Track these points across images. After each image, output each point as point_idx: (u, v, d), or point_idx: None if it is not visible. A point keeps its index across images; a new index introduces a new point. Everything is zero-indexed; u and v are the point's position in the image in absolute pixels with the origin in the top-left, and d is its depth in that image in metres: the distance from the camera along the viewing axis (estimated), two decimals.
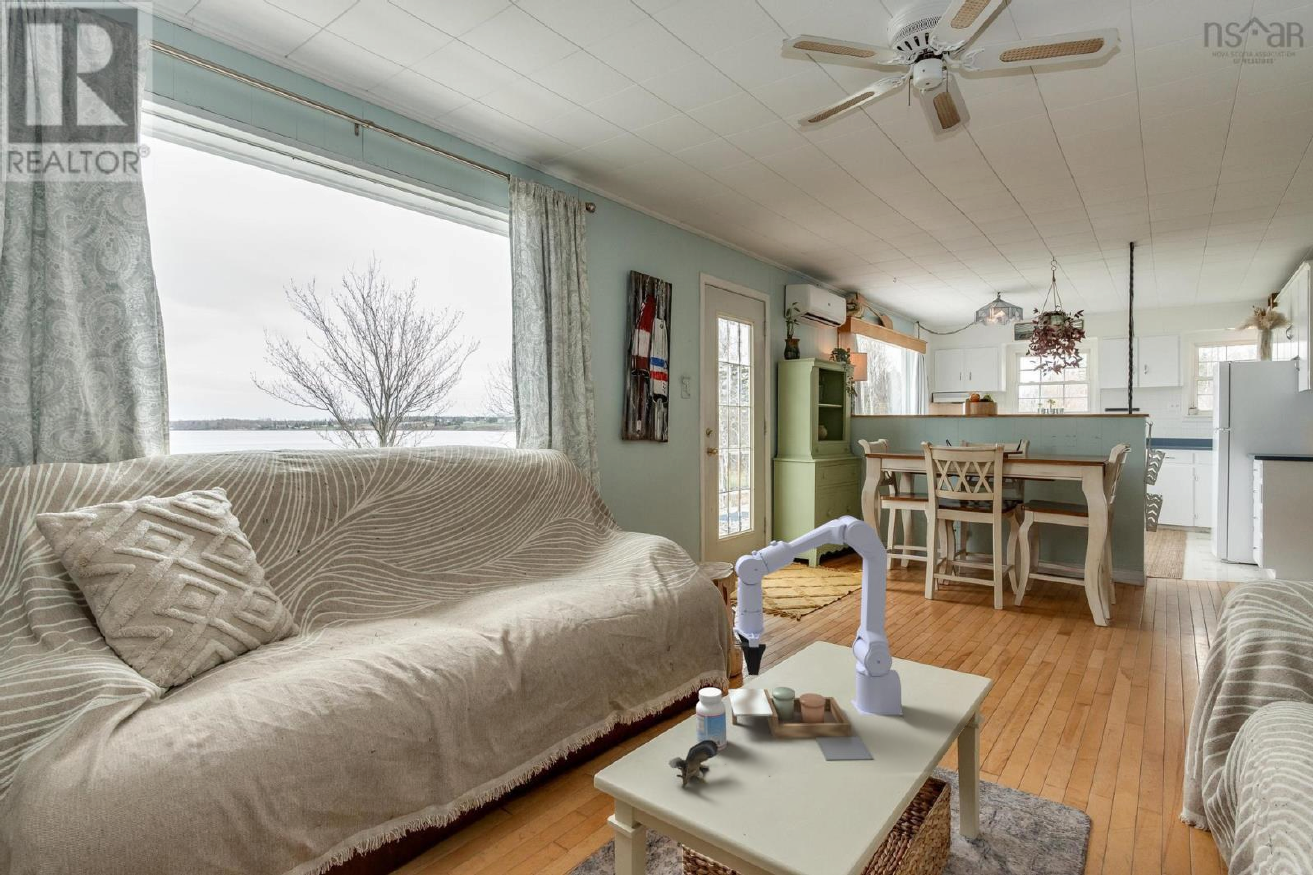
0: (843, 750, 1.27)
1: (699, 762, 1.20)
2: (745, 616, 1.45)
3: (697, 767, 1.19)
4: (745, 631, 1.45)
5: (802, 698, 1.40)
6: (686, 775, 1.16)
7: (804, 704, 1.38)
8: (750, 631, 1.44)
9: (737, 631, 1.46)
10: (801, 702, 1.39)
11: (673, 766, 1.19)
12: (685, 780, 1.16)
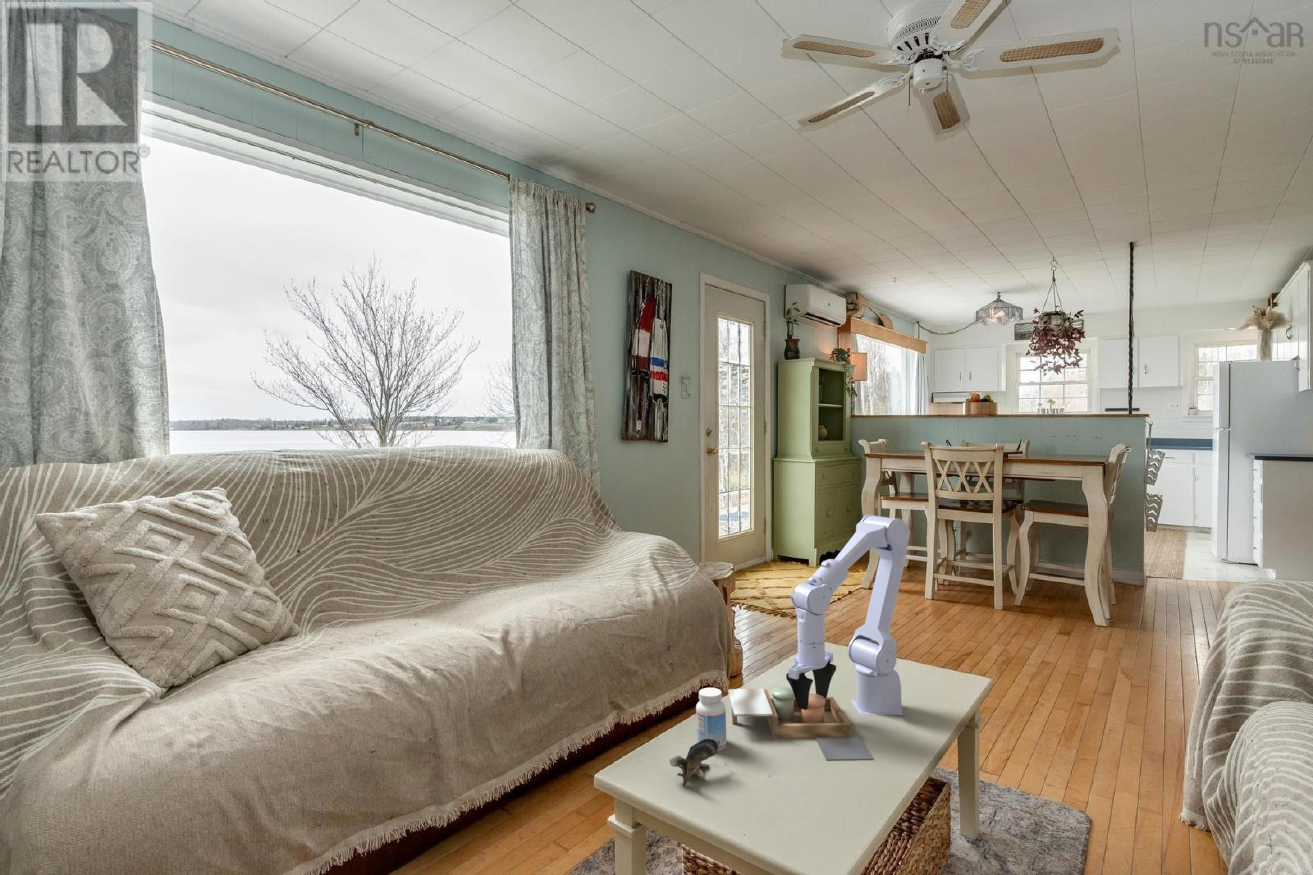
0: (843, 750, 1.27)
1: (699, 761, 1.20)
2: (799, 646, 1.38)
3: (697, 766, 1.19)
4: (799, 661, 1.39)
5: None
6: (686, 774, 1.17)
7: None
8: (802, 662, 1.38)
9: (796, 659, 1.41)
10: None
11: (673, 765, 1.19)
12: (685, 779, 1.17)
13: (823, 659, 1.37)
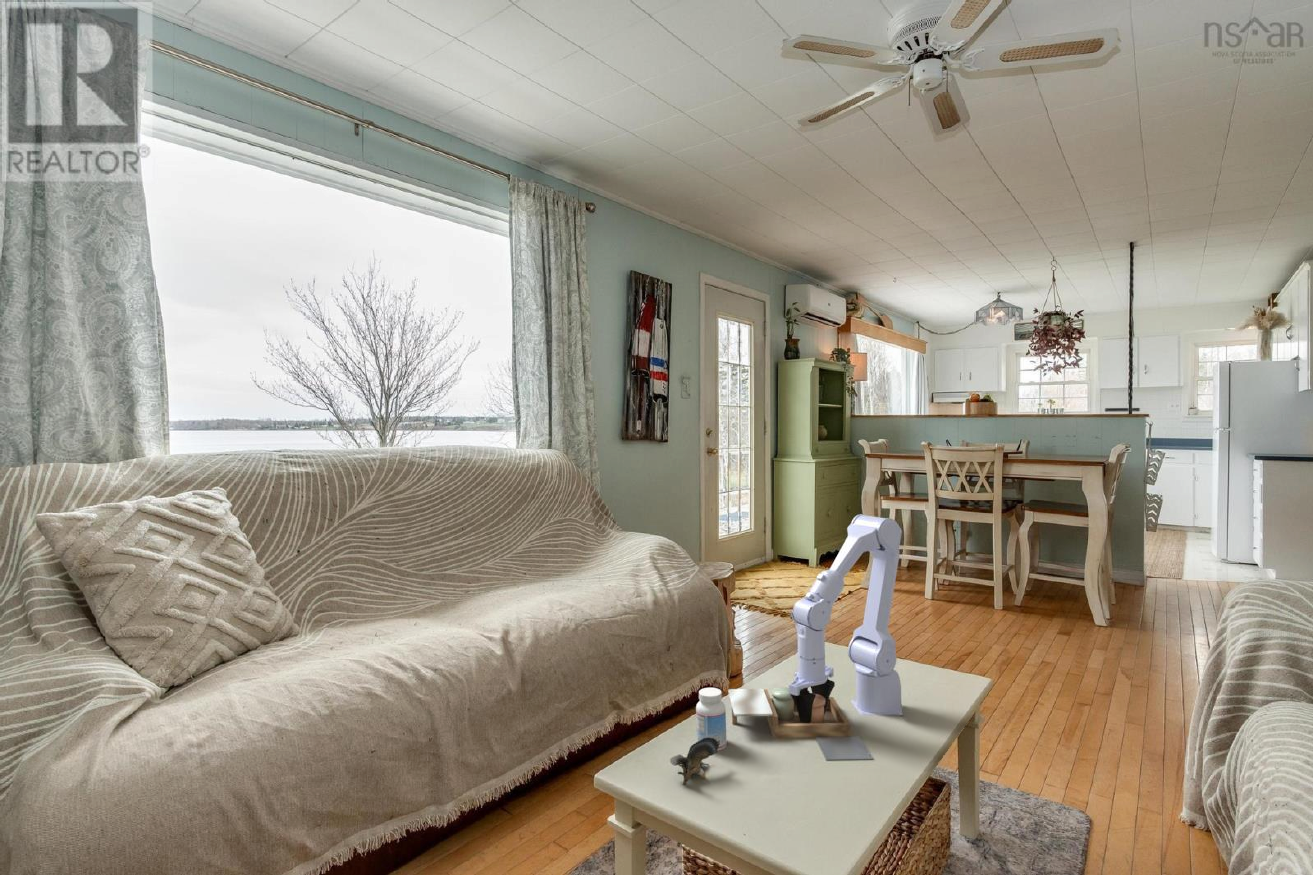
0: (843, 750, 1.27)
1: (700, 759, 1.21)
2: (799, 661, 1.39)
3: (698, 764, 1.20)
4: (799, 677, 1.39)
5: None
6: (687, 772, 1.17)
7: None
8: (803, 678, 1.38)
9: (796, 675, 1.41)
10: None
11: (674, 763, 1.20)
12: (686, 777, 1.17)
13: (823, 675, 1.38)
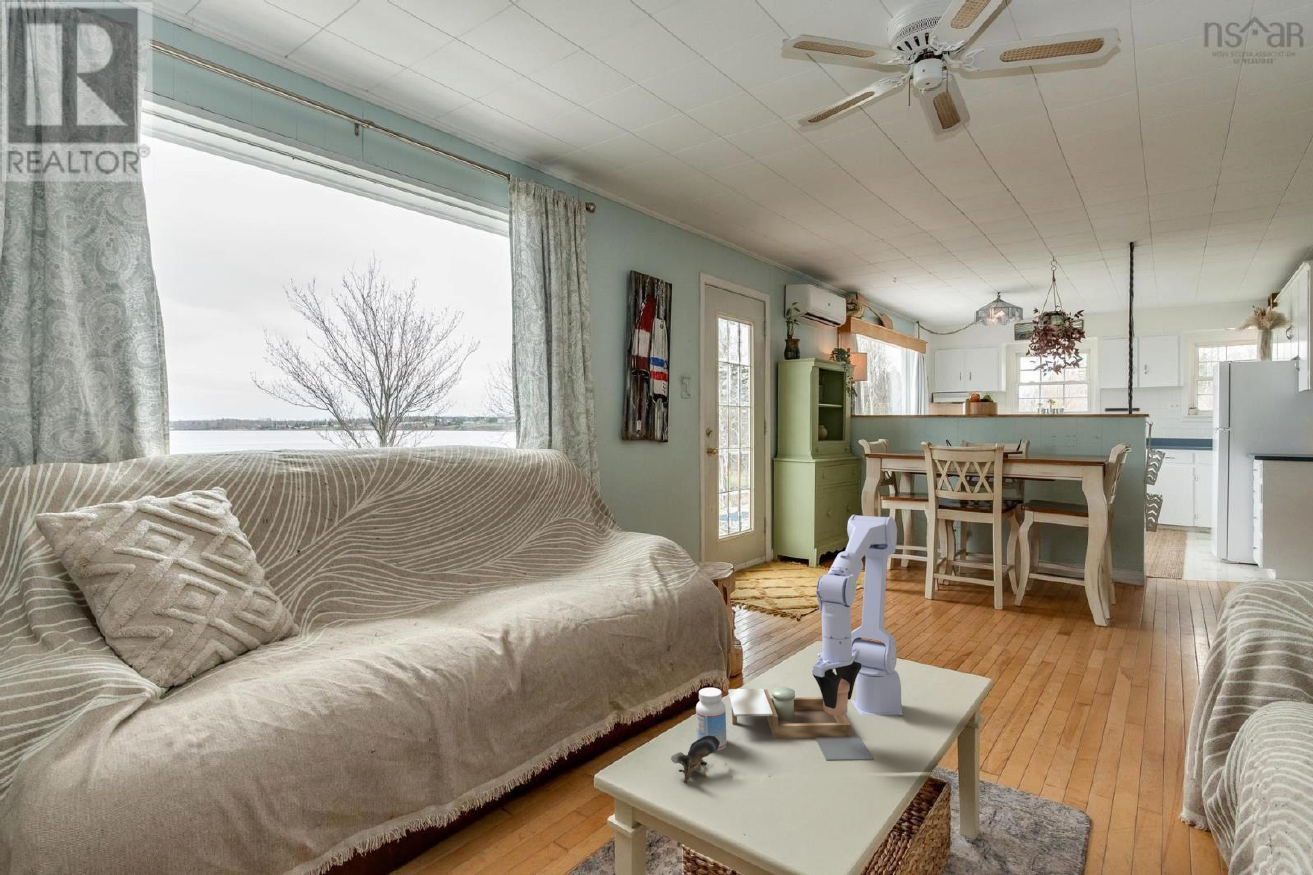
0: (843, 750, 1.27)
1: (701, 757, 1.21)
2: (824, 641, 1.29)
3: (699, 762, 1.21)
4: (824, 658, 1.29)
5: None
6: (688, 770, 1.18)
7: None
8: (827, 659, 1.28)
9: (820, 656, 1.31)
10: None
11: (675, 761, 1.21)
12: (687, 775, 1.18)
13: (850, 655, 1.28)
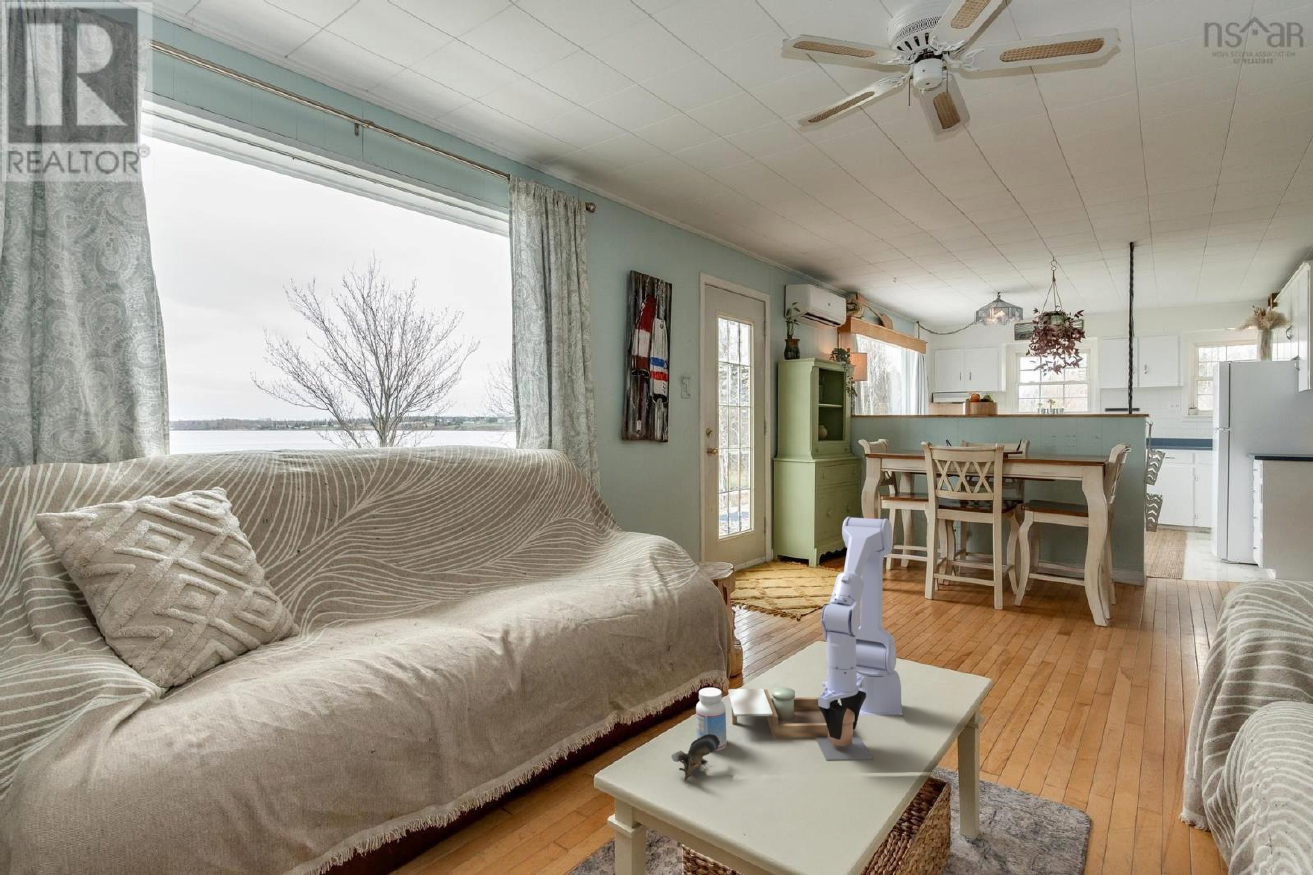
0: (843, 750, 1.27)
1: (701, 756, 1.22)
2: (829, 671, 1.27)
3: (699, 761, 1.21)
4: (828, 688, 1.27)
5: None
6: (688, 768, 1.18)
7: None
8: (832, 689, 1.26)
9: (825, 685, 1.30)
10: None
11: (675, 760, 1.21)
12: (687, 773, 1.19)
13: (855, 685, 1.26)
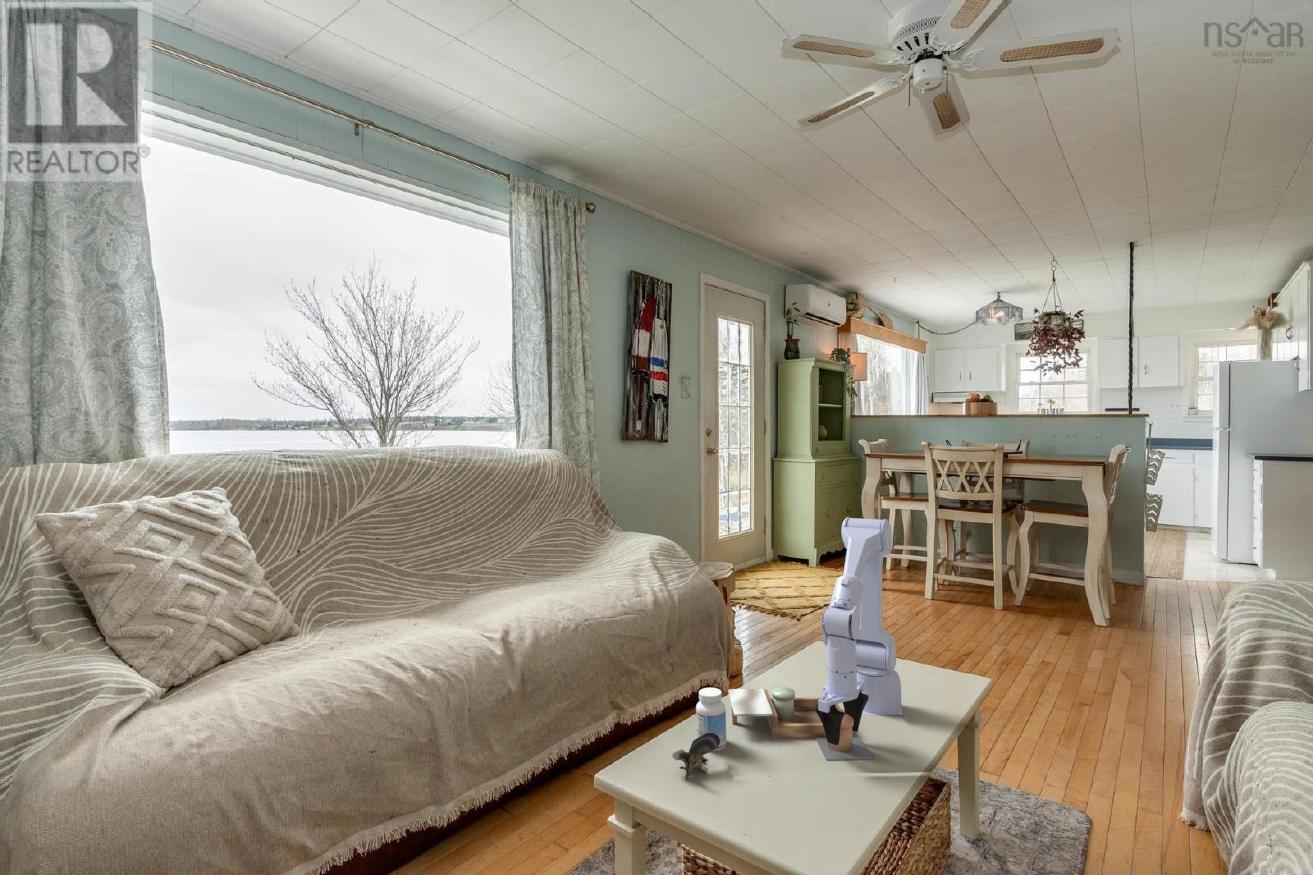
0: None
1: (702, 754, 1.23)
2: (829, 675, 1.27)
3: (700, 759, 1.22)
4: (828, 692, 1.28)
5: None
6: (689, 767, 1.19)
7: None
8: (832, 693, 1.26)
9: (825, 689, 1.30)
10: None
11: (676, 758, 1.22)
12: (688, 772, 1.19)
13: (855, 689, 1.26)
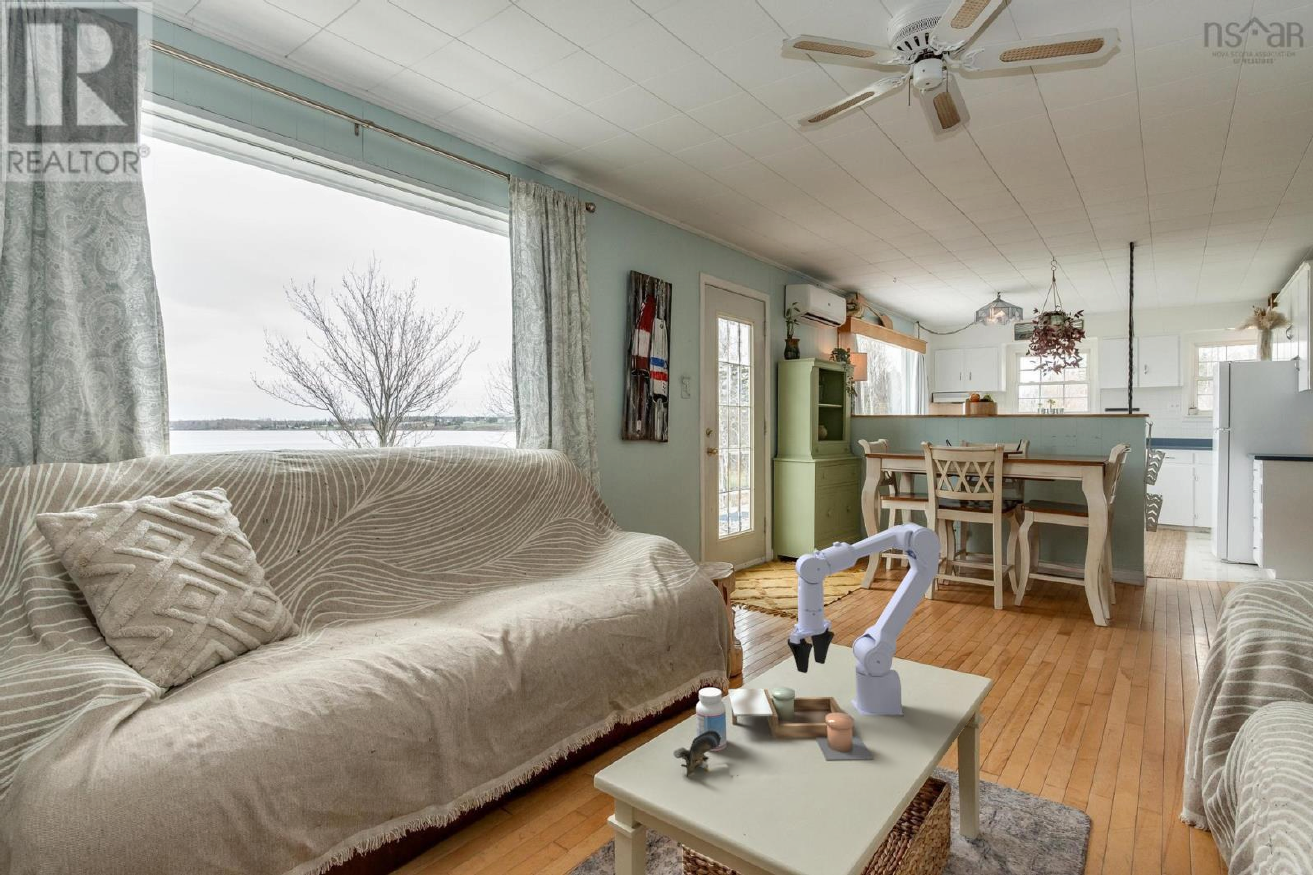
0: None
1: (702, 752, 1.23)
2: (799, 613, 1.46)
3: (701, 757, 1.22)
4: (799, 628, 1.46)
5: (828, 718, 1.29)
6: (690, 765, 1.20)
7: (830, 724, 1.27)
8: (802, 629, 1.45)
9: (796, 627, 1.49)
10: (827, 722, 1.28)
11: (677, 756, 1.22)
12: (689, 770, 1.20)
13: (822, 625, 1.45)
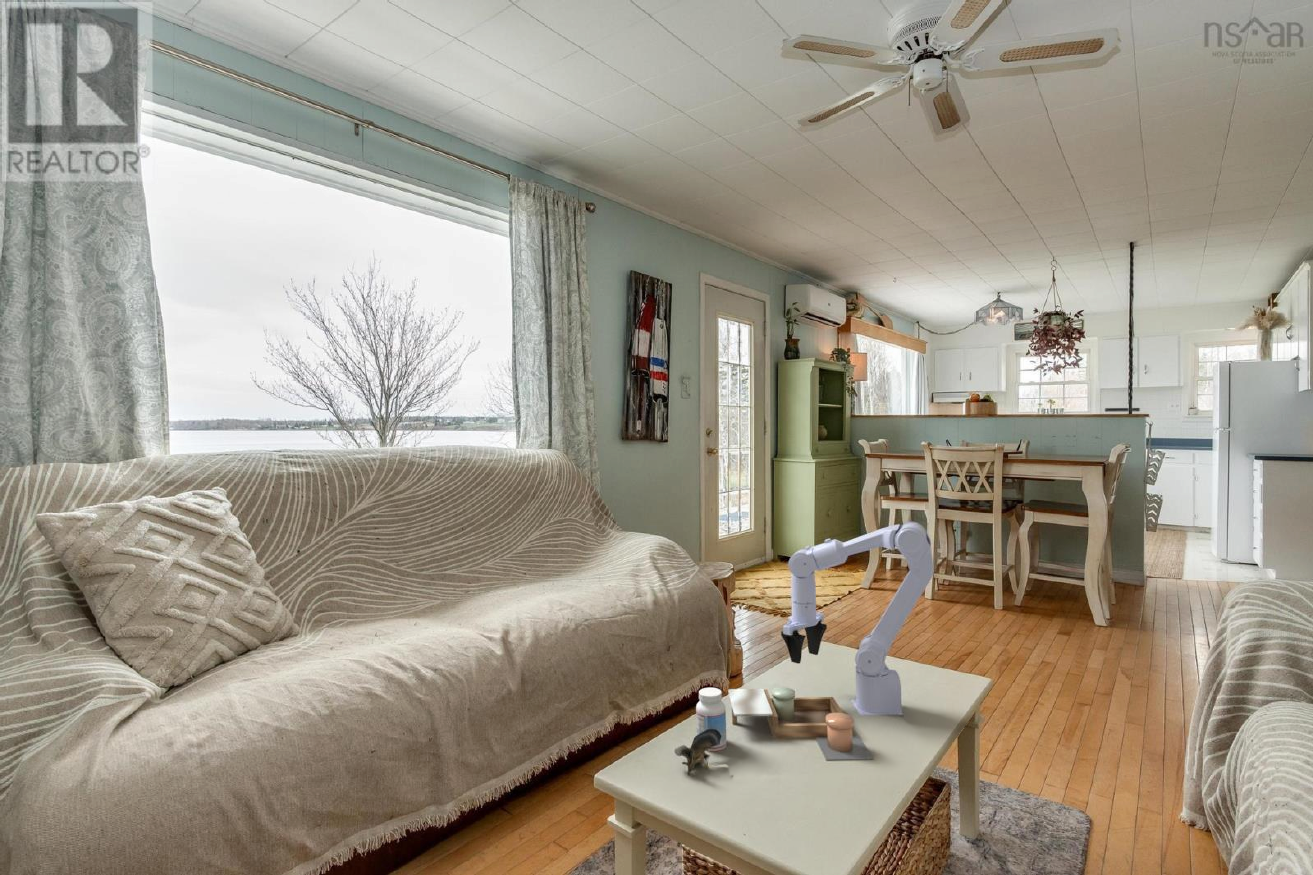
0: None
1: (703, 750, 1.24)
2: (793, 606, 1.52)
3: (701, 755, 1.23)
4: (792, 620, 1.52)
5: (828, 718, 1.29)
6: (691, 762, 1.21)
7: (830, 724, 1.27)
8: (795, 621, 1.51)
9: (790, 619, 1.55)
10: (827, 722, 1.28)
11: (678, 754, 1.23)
12: (690, 767, 1.21)
13: (814, 618, 1.51)
